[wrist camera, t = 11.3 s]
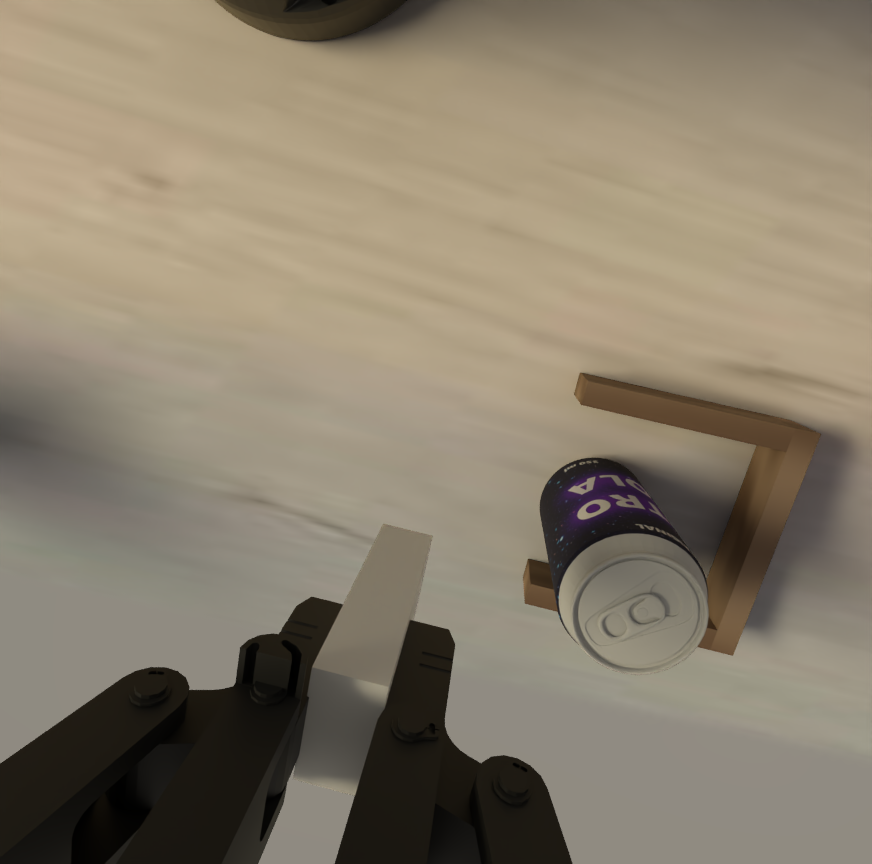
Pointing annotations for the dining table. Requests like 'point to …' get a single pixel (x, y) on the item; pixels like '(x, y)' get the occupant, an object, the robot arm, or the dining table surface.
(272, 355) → the dining table surface
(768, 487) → the corral
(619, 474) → the beverage can
